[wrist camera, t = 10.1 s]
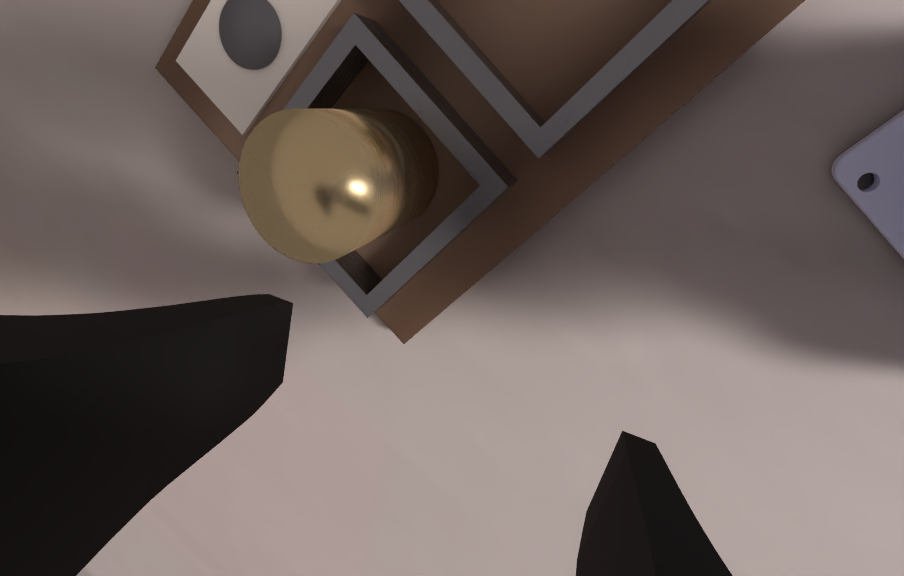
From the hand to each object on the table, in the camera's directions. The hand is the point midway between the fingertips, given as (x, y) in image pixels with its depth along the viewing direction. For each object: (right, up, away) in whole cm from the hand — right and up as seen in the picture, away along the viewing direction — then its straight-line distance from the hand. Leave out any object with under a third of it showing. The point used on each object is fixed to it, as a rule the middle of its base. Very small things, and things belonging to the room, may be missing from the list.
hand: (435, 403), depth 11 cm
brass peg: (-2, +6, +8) cm, 10 cm away
